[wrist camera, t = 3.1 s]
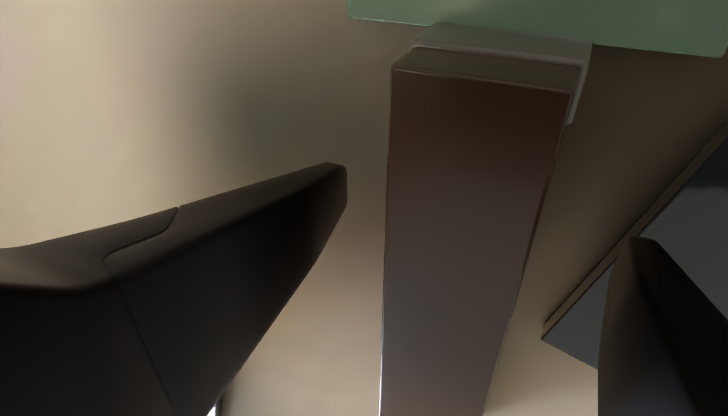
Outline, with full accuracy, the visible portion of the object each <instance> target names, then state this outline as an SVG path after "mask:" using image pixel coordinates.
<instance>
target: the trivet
mask: <svg viewBox="0 0 728 416" xmlns="http://www.w3.org/2000/svg"><path fill="white" fill-rule="evenodd" d="M629 235H636V236H640V237H644V238H649V239H653V240H655V241H657V242H658V243H659V244H660V245H661V246H662V247H663V248H664V250H665V251H666V252H667V253H668V254H669V255H670V256H671V257H672V258H673V260H674V261H675V262H676V263H677V264H678V265H679V266H680V267H681V268H682V270H683V271H684V272H685V273H686V274H687V275H688V276H689V277H690V278H691V280H692V281H693V282H694V283H695V284H696V285H697V286H698V287H699V288H700V290H701V291H702V292H703V293H704V294H705V295H706V296H707V297H708V298H709V299H710V301H711V302H712V303H713V304H714V305H715V306H716V307H717V308H718V309H719V311H720V312H721V313H722V314H723V315H724V316H725V317H726V318H727V319H728V121H727V123H726V124H725V125H724V126H723V127H722V128H721V129H720V130H719V131H718V133H717V134H716V135H715V136H714V137H713V138H712V139H711V140H710V141H709V142H708V144H707V145H706V146H705V147H704V148H703V149H702V150H701V151H700V152H699V154H698V155H697V156H696V157H695V158H694V159H693V160H692V161H691V162H690V164H689V165H688V166H687V167H686V168H685V169H684V170H683V171H682V172H681V174H680V175H679V176H678V177H677V178H676V179H675V180H674V181H673V182H672V184H671V185H670V186H669V187H668V188H667V189H666V190H665V191H664V192H663V194H662V195H661V196H660V197H659V198H658V199H657V200H656V201H655V202H654V203H653V205H652V206H651V207H650V208H649V209H648V210H647V211H646V212H645V213H644V215H643V216H642V217H641V218H640V219H639V220H638V221H637V222H636V223H635V225H634V226H633V227H632V228H631V229H630V230H629V231H628V232H627V233H626V235H625V236H624V237H623V238H622V239H621V240H620V241H619V242H618V243H617V245H616V246H615V247H614V248H613V249H612V250H611V251H610V252H609V253H608V255H607V256H606V257H605V258H604V259H603V260H602V261H601V262H600V263H599V265H598V266H597V267H596V268H595V269H594V270H593V271H592V272H591V273H590V274H589V276H588V277H587V278H586V279H585V280H584V281H583V282H582V283H581V284H580V286H579V287H578V288H577V289H576V290H575V291H574V292H573V293H572V294H571V296H570V297H569V298H568V299H567V300H566V301H565V302H564V303H563V304H562V306H561V307H560V308H559V309H558V310H557V311H556V312H555V313H554V314H553V316H552V317H551V318H550V319H549V320H548V321H547V322H546V323H545V324H544V326H543V329H542V335H541V340H542V341H544V342H546V343H548V344H550V345H551V346H553V347H555V348H557V349H559V350H561V351H563V352H565V353H567V354H568V355H570V356H572V357H574V358H576V359H578V360H580V361H582V362H584V363H585V364H587V365H589V366H591V367H593V368H595V369H597V370H598V354H599V345H600V337H601V331H602V324H603V317H604V310H605V303H606V297H607V290H608V283H609V278H610V274H611V271H612V269H613V266H614V264H615V262H616V260H617V257H618V255H619V253H620V251H621V248H622V246H623V244H624V242H625V240H626V238H627V237H628V236H629Z"/></svg>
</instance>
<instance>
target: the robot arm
mask: <svg viewBox="0 0 728 416" xmlns="http://www.w3.org/2000/svg"><path fill="white" fill-rule="evenodd" d="M346 204H347V171H346V168H345V167H344V166H343V165H339V164H335V163H331V162H325V163H322V164H318V165H315V166H312V167H308V168H305V169H302V170H298V171H295V172H292V173H288V174H285V175H282V176H278V177H275V178H272V179H268V180H265V181H261V182H258V183H255V184H251V185H248V186H245V187H241V188H238V189H235V190H231V191H228V192H225V193H221V194H218V195H215V196H211V197H208V198H205V199H201V200H198V201H195V202H191V203H188V204H185V205H181V206H180V207H179V208H178V207H174V208H171V209H168V210H164V211H161V212H158V213H154V214H151V215H147V216H144V217H140V218H137V219H133V220H129V221H125V222H121V223H117V224H113V225H109V226H105V227H102V228H97V229H93V230H89V231H85V232H81V233H77V234H72V235H68V236H64V237H60V238H56V239H52V240H47V241H43V242H39V243H35V244H31V245H26V246H20V247H12V248H0V416H220V404H221V395H222V394H223V393H224V391H225V390H226V388H227V387H228V386H229V384H230V383H231V381H232V380H233V379H234V377H235V376H236V374H237V373H238V371H239V370H240V369H241V367H242V366H243V364H244V363H245V362H246V360H247V359H248V357H249V356H250V355H251V353H252V352H253V350H254V349H255V347H256V346H257V345H258V343H259V342H260V340H261V339H262V338H263V336H264V335H265V333H266V332H267V330H268V329H269V328H270V326H271V325H272V323H273V322H274V321H275V319H276V318H277V316H278V315H279V314H280V312H281V311H282V309H283V308H284V306H285V305H286V304H287V302H288V301H289V299H290V298H291V297H292V295H293V294H294V292H295V291H296V290H297V288H298V287H299V285H300V284H301V282H302V281H303V280H304V278H305V277H306V275H307V274H308V273H309V271H310V270H311V268H312V267H313V265H314V264H315V262H316V261H317V259H318V257H319V256H320V254H321V252H322V250H323V248H324V247H325V245H326V243H327V241H328V239H329V237H330V235H331V234H332V232H333V230H334V228H335V226H336V224H337V223H338V221H339V219H340V217H341V215H342V213H343V211H344V210H345V207H346ZM598 416H728V319H727V318H726V317H725V316H724V315H723V314H722V313H721V312H720V311H719V309H718V308H717V307H716V306H715V305H714V304H713V303H712V302H711V301H710V299H709V298H708V297H707V296H706V295H705V294H704V293H703V292H702V291H701V290H700V288H699V287H698V286H697V285H696V284H695V283H694V282H693V281H692V280H691V278H690V277H689V276H688V275H687V274H686V273H685V272H684V271H683V270H682V268H681V267H680V266H679V265H678V264H677V263H676V262H675V261H674V260H673V258H672V257H671V256H670V255H669V254H668V253H667V252H666V251H665V250H664V248H663V247H662V246H661V245H660V244H659V243H658V242H657V241H655V240H653V239H649V238H644V237H640V236H636V235H629V236H628V237H627V238H626V240H625V242H624V244H623V246H622V248H621V251H620V253H619V255H618V257H617V260H616V262H615V264H614V266H613V269H612V271H611V274H610V278H609V283H608V290H607V297H606V303H605V310H604V317H603V324H602V331H601V337H600V345H599V354H598Z"/></svg>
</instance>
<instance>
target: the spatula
mask: <svg viewBox="0 0 728 416" xmlns="http://www.w3.org/2000/svg"><path fill="white" fill-rule="evenodd" d="M346 15H347V17H349V18H357V19H366V20H375V21H384V22H393V23H402V24H412V25H421V26H429V27H428V28H427V29H425V30H424V31H423V32H421V33H420V34H418V35H417V36H416V37H414V38H413V39H412V40H411V42H410V51H409V52H408V53H407V54H406V55H404V56H403V57H402V58H400V59H399V60H398V61H396V62H395V63H394V64H393V65H392V66H391V73H390V103H389V132H388V162H387V191H386V221H385V250H384V280H383V309H382V339H381V369H380V398H379V416H483V414H484V410H485V407H486V403H487V400H488V396H489V393H490V389H491V386H492V382H493V379H494V375H495V372H496V368H497V365H498V361H499V357H500V354H501V350H502V347H503V343H504V340H505V336H506V333H507V329H508V326H509V322H510V319H511V315H512V312H513V308H514V305H515V301H516V298H517V294H518V291H519V287H520V284H521V280H522V277H523V273H524V270H525V266H526V263H527V259H528V256H529V252H530V249H531V245H532V242H533V238H534V235H535V231H536V228H537V224H538V221H539V217H540V214H541V210H542V206H543V203H544V199H545V196H546V192H547V189H548V185H549V182H550V178H551V175H552V171H553V168H554V164H555V161H556V157H557V154H558V150H559V147H560V143H561V140H562V136H563V133H564V129H565V126H566V125H569V124H570V123H571V122H572V121H573V119H574V116H575V112H576V109H577V105H578V102H579V99H580V95H581V92H582V88H583V85H584V81H585V78H586V75H587V71H588V68H589V63H590V58H591V52H592V46H593V44H595V45H604V46H613V47H622V48H631V49H640V50H649V51H659V52H668V53H677V54H686V55H695V56H704V57H713V58H720V57H722V56H723V55H724V53H725V51H726V49H727V47H728V0H346Z"/></svg>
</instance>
